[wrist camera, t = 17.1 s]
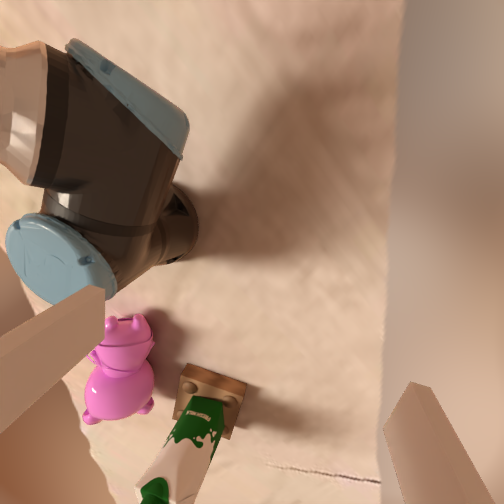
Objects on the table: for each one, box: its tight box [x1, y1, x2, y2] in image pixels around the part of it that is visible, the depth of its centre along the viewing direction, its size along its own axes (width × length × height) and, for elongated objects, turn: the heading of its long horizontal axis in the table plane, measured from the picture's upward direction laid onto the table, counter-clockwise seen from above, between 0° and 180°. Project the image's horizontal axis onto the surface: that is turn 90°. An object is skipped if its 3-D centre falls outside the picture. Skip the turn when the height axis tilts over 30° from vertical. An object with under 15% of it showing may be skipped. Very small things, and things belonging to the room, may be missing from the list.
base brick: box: [172, 363, 247, 440], centre depth 59 cm, size 14×14×4 cm
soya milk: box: [134, 395, 225, 504], centre depth 48 cm, size 9×9×20 cm
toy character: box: [82, 314, 155, 425], centre depth 55 cm, size 16×13×25 cm
